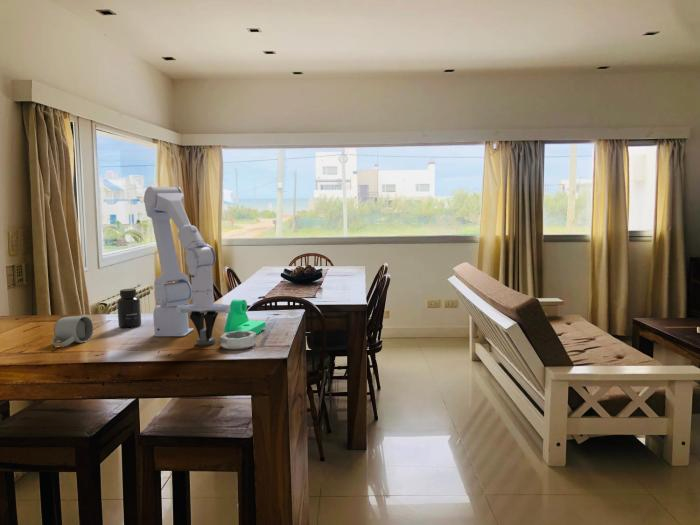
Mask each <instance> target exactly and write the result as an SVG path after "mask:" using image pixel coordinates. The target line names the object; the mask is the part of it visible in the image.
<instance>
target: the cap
mask: <svg viewBox="0 0 700 525" xmlns="http://www.w3.org/2000/svg"><path fill="white" fill-rule="evenodd" d="M195 344H196V346H197V345H198V347H210V346H213V345H215V344H216V338H215V336H214V337H213V336H212V337H211V338H210V339H207V336H206V326H204V328H203V329H202V330H200V338H196V340H195Z"/></svg>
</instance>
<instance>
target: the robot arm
mask: <svg viewBox="0 0 700 525" xmlns="http://www.w3.org/2000/svg"><path fill="white" fill-rule="evenodd" d="M143 201H144V207H145V212H146V215H147V217H148V218H151V222H152V229H153V232H154V233H153V234H154V238H155V244H156V250H157V253H158V259H159V265H160V269H161V273H160V275H159V276H158V277H156V279H155V280H154V282H153V283H154V284H153V285H154V292H153V293H154V298H155V301H156V302H157V304H158V305H155V306H154V309H153V328H154V334H153V337H185V336H186V335H188V334H189V333H191V332H192V331H194V330H195V329H196V331H197V335H198V337H199V338H200V330H202V329H203V328H204V327H206V336H207V339H210V338H211V337H213V336H212V335H213V330H214V325H215V322H216V320H217V317H218V315H219V313H224V314H228V313H229V312H230V304H221V303H215V299H214V298H215V296H214V283H213V282H214V280H213V279H214V278H213V266H214V265H215V263H216V259H217V258H216V252H215V249H214V248H213V246H212V245H210V244H208V243H206V242H205V240H204V239H203V237H202V234H201V233H200V231H199V229H198V227H197V226H195V225H192V224H191V222H190V219H189V217H188V214H187V212H186V209H185V207H184V203H185V195H184V192H183V190H182V188H181V187H180V186H178V185H175V186H148V187H147V188H146V189H145V190H144V196H143ZM171 219H172V221H173V223H174V224H175V226H176V227H177V229H178V232H177V237H178V239H179V242H180V243H181V246H182V247H183V250H184V251H185V254H186V255H185V263H186V266H187V267H188V274H189V275H190V279H189V276H188V274H185V273H184V272H182V271H181V270H180V267H179V261H178V257H177V252H176V250H177V249H176V247H175V240H174V236H173V230H172V225H171V224H172V223H171ZM190 281H191V283H190ZM190 301H192V304H190ZM189 314H190V315H189ZM189 318H190V320H191V321H192V323H193V325H194V328H195V329H194V328H193V327H189ZM199 338H198V339H199Z"/></svg>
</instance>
